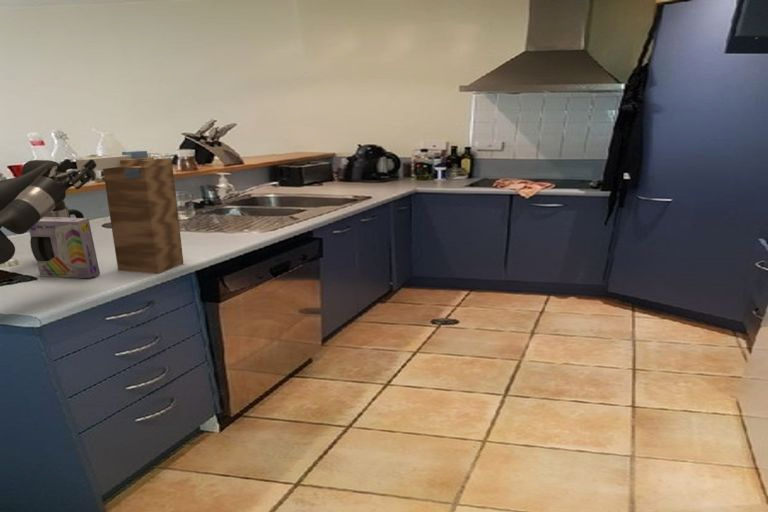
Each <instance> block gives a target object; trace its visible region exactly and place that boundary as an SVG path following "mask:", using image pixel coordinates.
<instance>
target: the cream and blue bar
mask: <svg viewBox="0 0 768 512" xmlns="http://www.w3.org/2000/svg"><path fill="white" fill-rule="evenodd" d="M139 158H150V156H149V153H148V151H147V150H131V151H130V150H129V151H128V150H127V151H121V155H113V156H112V155H109V156H100V157H87V158H77V159H75V164H76V167H77V168H76V170H77V169H79V168H81V167H82V166H83V165H84V164H86V163H87V162H88V161H89V160H94V162H95V163H96V165H97V166H96V167H95V168H94V169H93V170H92V171H94V170H95V171H97V170H103V169H106V168H115V167H121V164H120V160H129V159H139Z"/></svg>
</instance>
